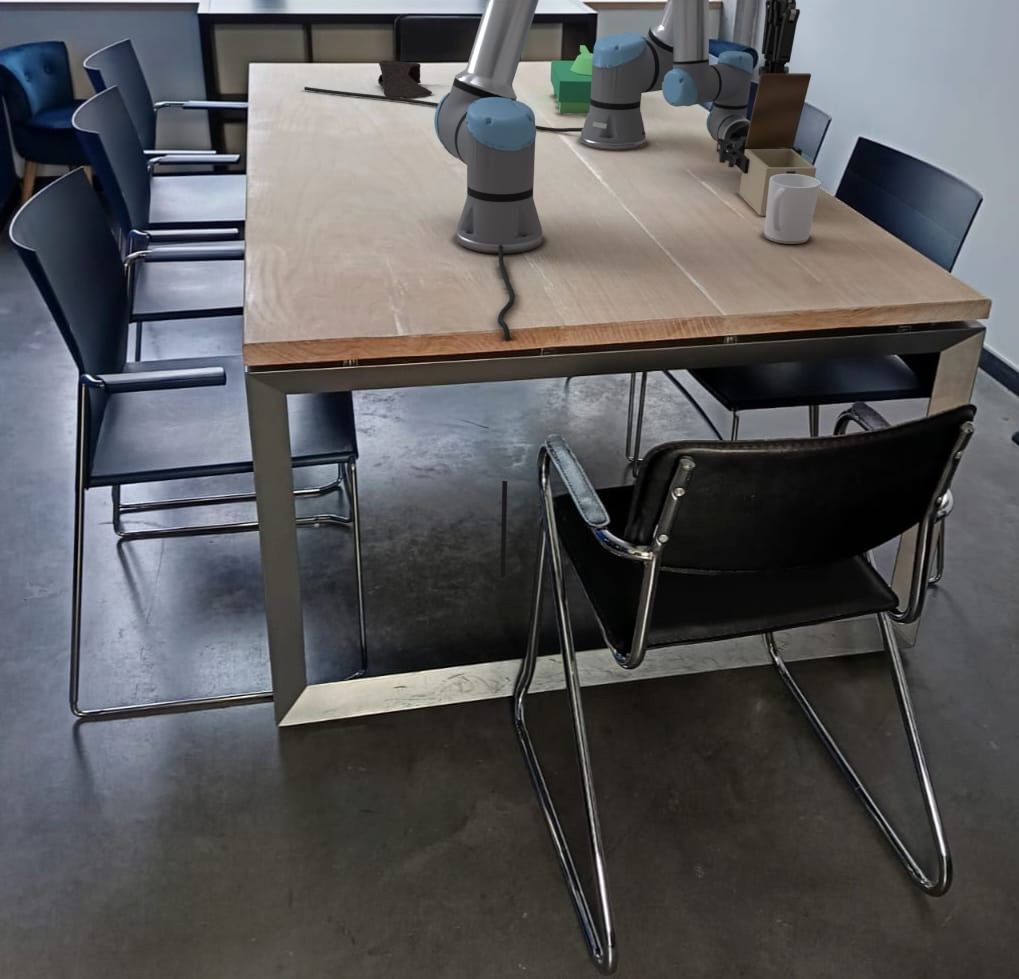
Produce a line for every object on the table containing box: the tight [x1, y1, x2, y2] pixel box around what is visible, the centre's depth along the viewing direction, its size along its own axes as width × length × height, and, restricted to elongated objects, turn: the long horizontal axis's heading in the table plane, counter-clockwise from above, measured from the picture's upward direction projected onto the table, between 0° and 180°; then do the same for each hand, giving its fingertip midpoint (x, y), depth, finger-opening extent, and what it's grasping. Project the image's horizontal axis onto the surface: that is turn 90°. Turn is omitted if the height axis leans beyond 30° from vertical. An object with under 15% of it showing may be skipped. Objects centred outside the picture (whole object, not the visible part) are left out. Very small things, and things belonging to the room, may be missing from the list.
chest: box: [738, 149, 817, 217], centre depth 215 cm, size 14×10×9 cm
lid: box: [745, 65, 812, 148], centre depth 216 cm, size 15×10×8 cm
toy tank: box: [550, 44, 593, 115], centre depth 290 cm, size 18×12×35 cm
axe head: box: [377, 59, 433, 99], centre depth 299 cm, size 18×8×15 cm
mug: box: [763, 174, 822, 245], centre depth 197 cm, size 11×9×10 cm
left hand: (769, 96), depth 217 cm, fingers open, 3 cm apart
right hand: (772, 166), depth 217 cm, fingers closed on chest, 10 cm apart
